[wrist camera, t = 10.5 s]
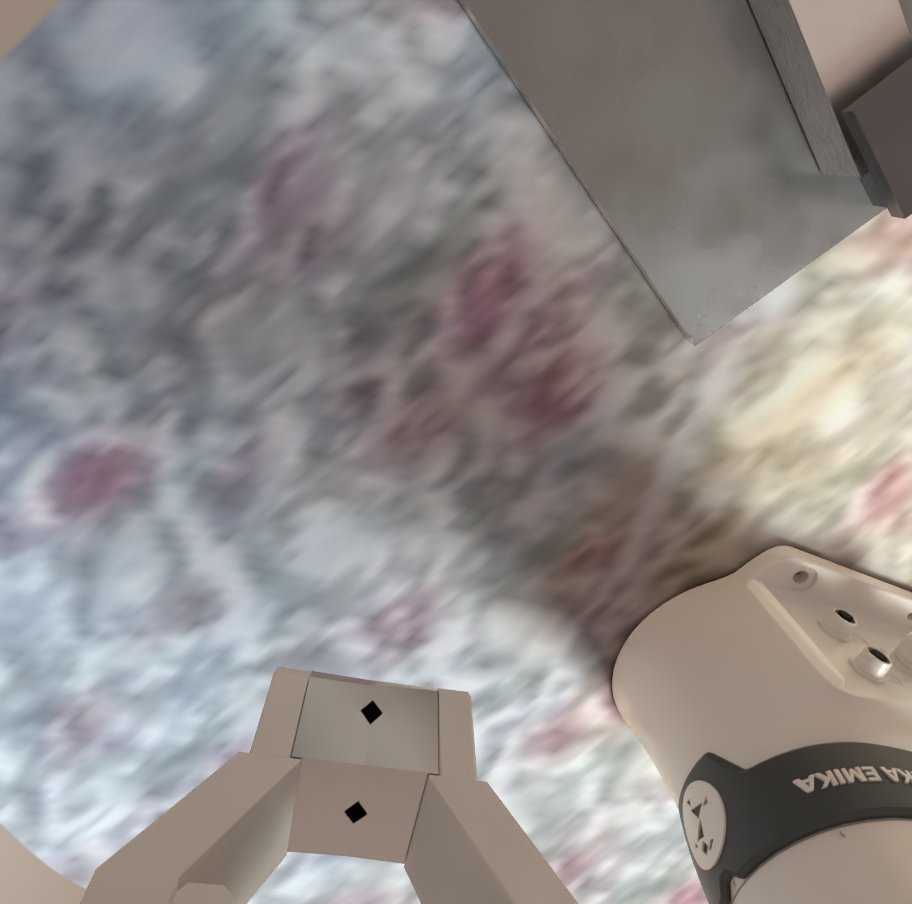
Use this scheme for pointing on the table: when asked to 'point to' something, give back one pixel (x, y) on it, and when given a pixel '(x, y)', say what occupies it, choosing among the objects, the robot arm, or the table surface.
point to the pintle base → (697, 141)
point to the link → (833, 65)
